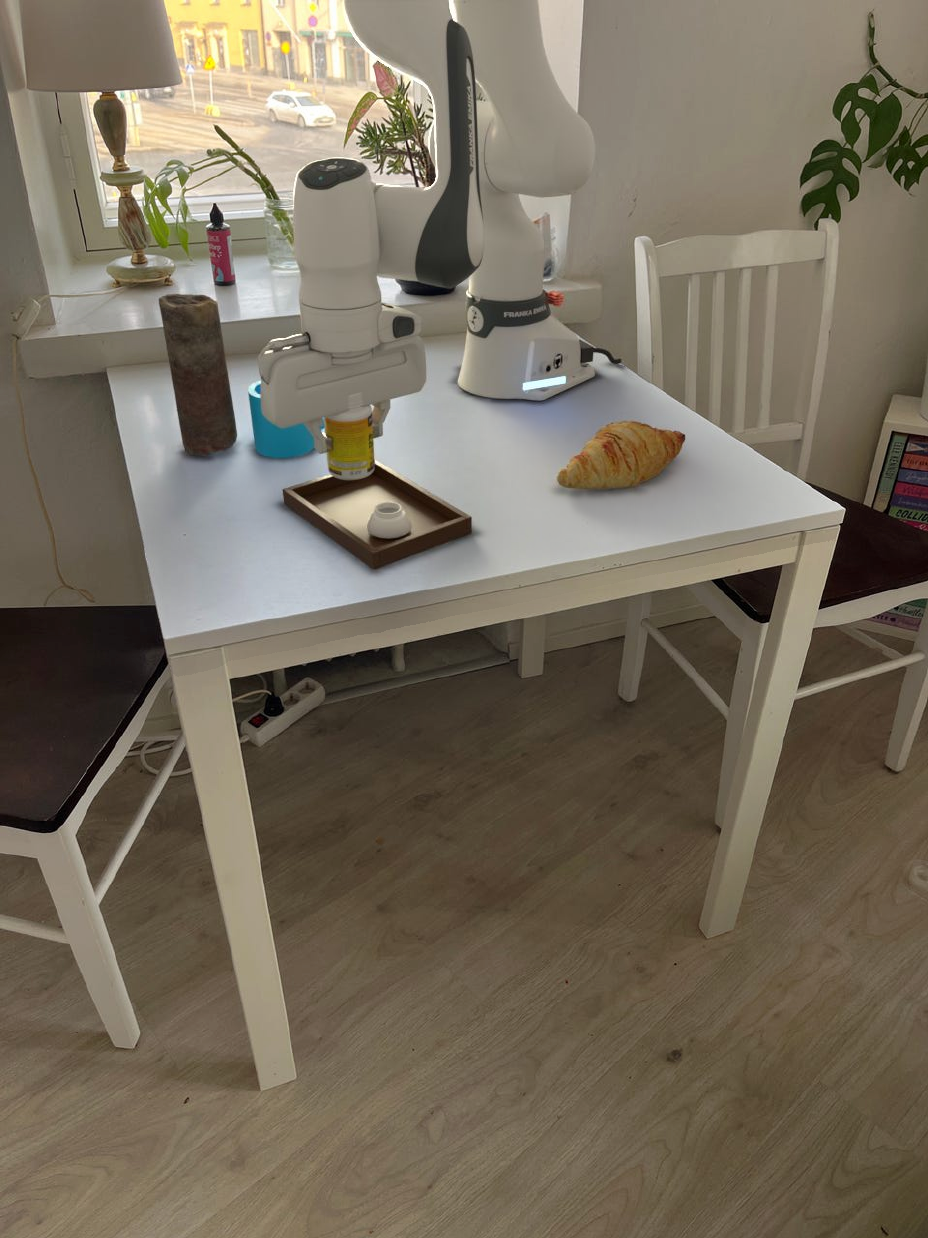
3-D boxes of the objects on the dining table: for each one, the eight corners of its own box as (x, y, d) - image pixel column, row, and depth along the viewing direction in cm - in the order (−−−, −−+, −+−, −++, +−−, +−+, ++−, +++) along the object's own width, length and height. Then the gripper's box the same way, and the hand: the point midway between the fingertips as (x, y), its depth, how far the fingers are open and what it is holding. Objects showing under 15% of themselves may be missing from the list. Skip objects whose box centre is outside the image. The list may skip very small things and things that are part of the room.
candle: (188, 435, 134) (163, 289, 123) (241, 434, 135) (221, 288, 124) (179, 458, 128) (152, 306, 117) (235, 457, 128) (214, 305, 117)
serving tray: (376, 474, 124) (376, 459, 123) (471, 532, 111) (472, 516, 110) (283, 504, 117) (282, 488, 116) (374, 570, 104) (372, 553, 103)
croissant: (571, 526, 120) (595, 486, 113) (527, 467, 123) (548, 424, 116) (690, 479, 130) (719, 440, 123) (647, 425, 133) (672, 384, 127)
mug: (273, 463, 127) (266, 404, 122) (244, 443, 132) (236, 385, 128) (350, 441, 133) (346, 383, 128) (320, 422, 138) (315, 367, 134)
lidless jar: (407, 518, 113) (364, 522, 112) (406, 495, 111) (363, 500, 110) (414, 538, 109) (370, 543, 108) (414, 515, 107) (369, 520, 106)
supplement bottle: (378, 479, 113) (374, 396, 107) (331, 484, 112) (324, 400, 106) (371, 460, 118) (366, 378, 112) (325, 464, 116) (318, 382, 111)
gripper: (271, 351, 98) (284, 476, 105) (433, 315, 108) (434, 431, 116) (242, 336, 102) (257, 457, 109) (401, 302, 112) (404, 415, 120)
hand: (349, 443), depth 113 cm, fingers closed on supplement bottle, 5 cm apart
